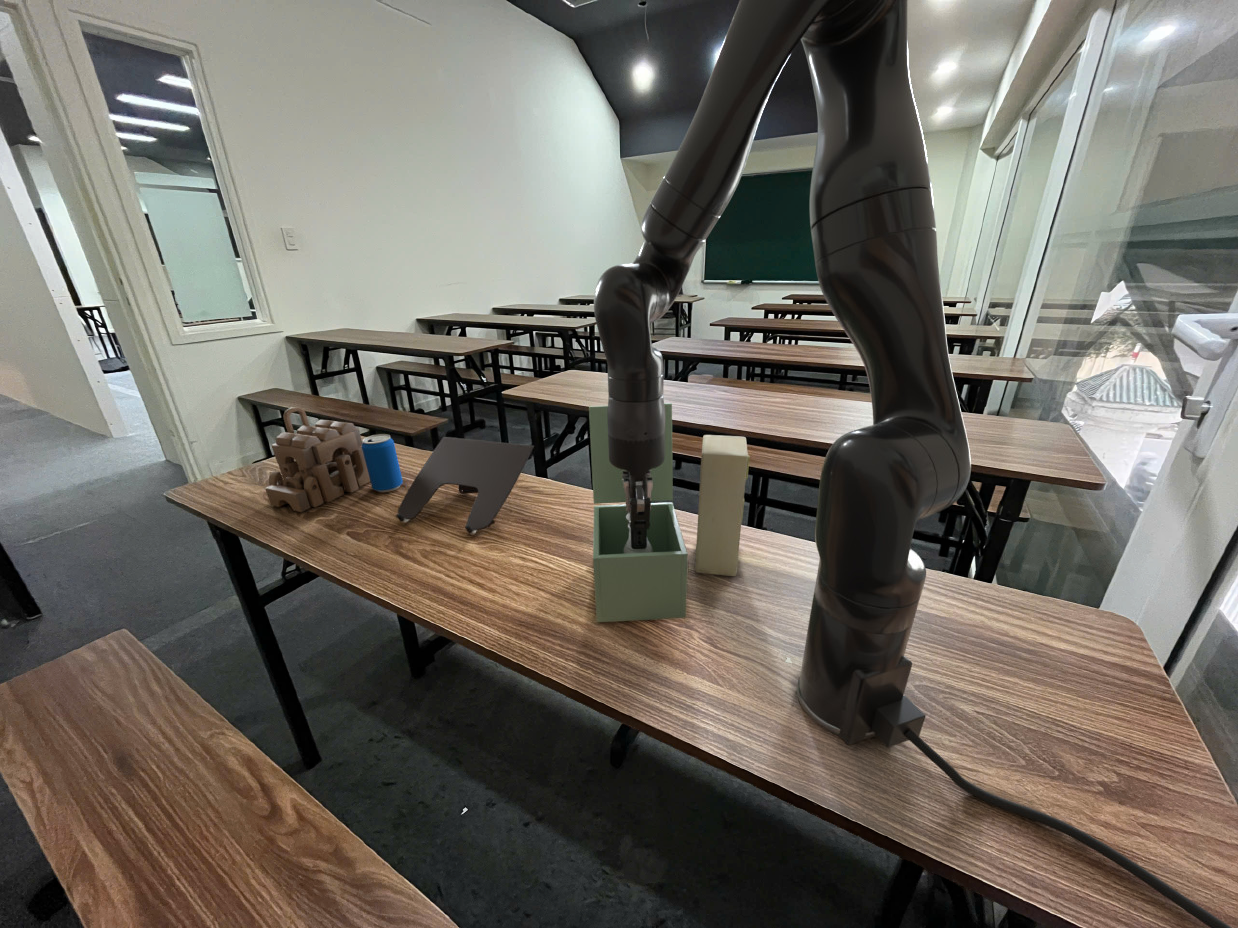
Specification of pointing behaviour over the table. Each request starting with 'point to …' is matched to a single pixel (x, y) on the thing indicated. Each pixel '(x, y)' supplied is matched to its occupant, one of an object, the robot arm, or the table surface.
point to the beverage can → (382, 462)
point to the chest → (639, 567)
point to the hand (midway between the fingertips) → (637, 539)
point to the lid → (610, 477)
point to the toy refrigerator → (721, 503)
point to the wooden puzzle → (316, 463)
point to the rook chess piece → (628, 547)
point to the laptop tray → (468, 477)
